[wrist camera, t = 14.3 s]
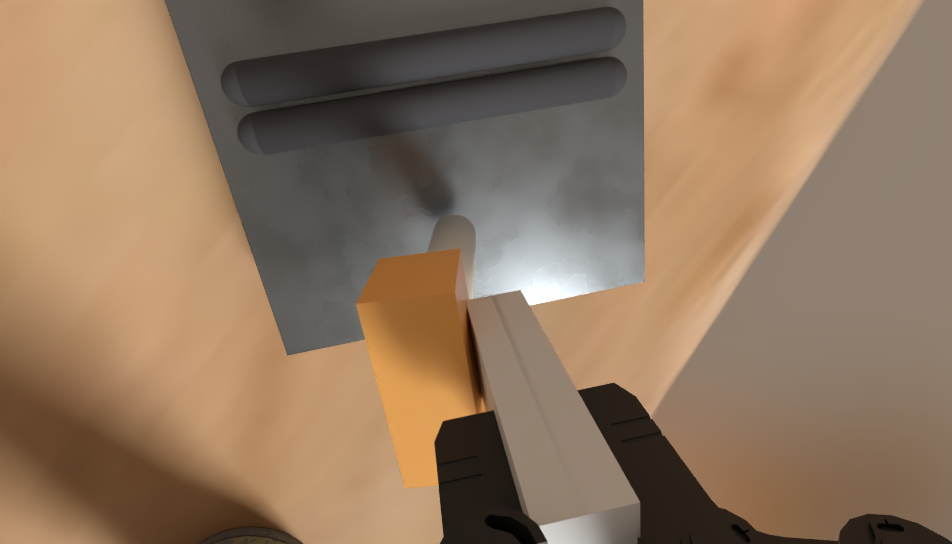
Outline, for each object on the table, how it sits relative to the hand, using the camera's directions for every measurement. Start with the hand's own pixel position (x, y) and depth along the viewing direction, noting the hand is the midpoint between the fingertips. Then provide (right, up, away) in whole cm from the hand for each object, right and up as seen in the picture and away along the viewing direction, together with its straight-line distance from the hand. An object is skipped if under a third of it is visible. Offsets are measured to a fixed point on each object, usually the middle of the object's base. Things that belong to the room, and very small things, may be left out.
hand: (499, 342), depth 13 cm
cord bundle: (-2, +10, +7) cm, 12 cm away
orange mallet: (-1, +4, +9) cm, 10 cm away
